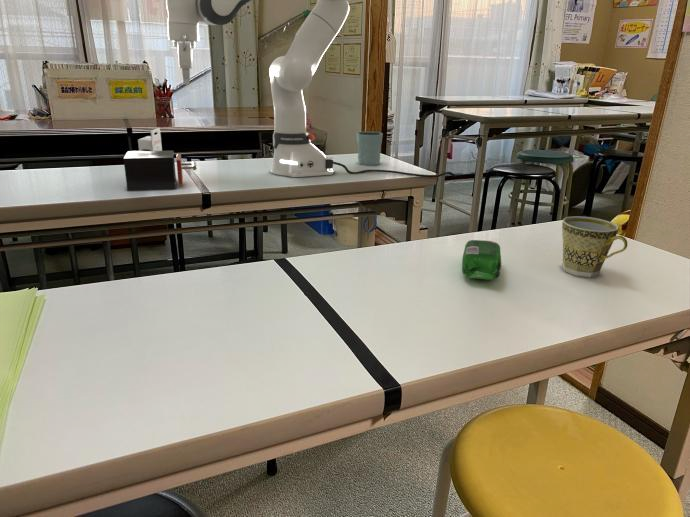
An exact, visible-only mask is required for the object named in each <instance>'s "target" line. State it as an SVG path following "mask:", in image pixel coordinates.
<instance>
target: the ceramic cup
mask: <svg viewBox="0 0 690 517" xmlns="http://www.w3.org/2000/svg"><path fill="white" fill-rule="evenodd" d="M561 226H562V227H561V229H562V230H561V232H562V233H561V234H562V268H563V271H564V272H565V273H568V274H570V275H573V276H575V277H581V278H594V277H598V276H599V275H600V272H601V270H602V268H603V266H604V263H605V261H606V260H607V259H609V258H611V257H613V256H614V255H617V254H620V253H623V252H624V251H625V250H626V249H627V247H628V240H627V238H626V237H625V236H623V235H617V234H618V232H619V230H620V227H619V225H617V224H616V223H614V222H612V221H609V220H606V219H601V218H598V217H590V216H582V215H581V216H578V215H577V216H573V215H572V216H567V217H564V218H562V225H561ZM616 240H620V241H622V242H623V248H622V249H620V250H617V251H614V252H612V253H610V254H609V252H610V250H611V248H612V246H613V244H614V241H616Z"/></svg>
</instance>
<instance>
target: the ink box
mask: <svg viewBox="0 0 690 517" xmlns="http://www.w3.org/2000/svg"><path fill="white" fill-rule="evenodd" d="M155 133H156V134H155ZM137 144H138V151H163V147H162V146H163V145H162V134H161V128H160V127H157V128H154V129H151V130H150V135H147V136H144V137H142V138H139V139H137Z"/></svg>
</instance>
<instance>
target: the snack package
mask: <svg viewBox="0 0 690 517" xmlns="http://www.w3.org/2000/svg"><path fill="white" fill-rule="evenodd" d="M461 262H462V263H461V272H462V274H463V276H464V277H465V278H467V279H478V280H486V281H489V280H494V279H498V278H499V277H500V276H501V272H500V271H501V268H502V255H501V246H500V244H499V243H497V242H495V241H492V240H481V239H470V240H468V241H466V243H465V246H464V250H463V254H462V261H461Z"/></svg>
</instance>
